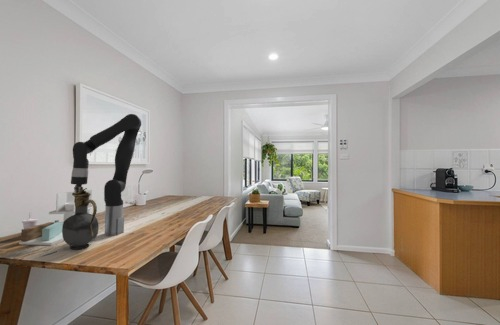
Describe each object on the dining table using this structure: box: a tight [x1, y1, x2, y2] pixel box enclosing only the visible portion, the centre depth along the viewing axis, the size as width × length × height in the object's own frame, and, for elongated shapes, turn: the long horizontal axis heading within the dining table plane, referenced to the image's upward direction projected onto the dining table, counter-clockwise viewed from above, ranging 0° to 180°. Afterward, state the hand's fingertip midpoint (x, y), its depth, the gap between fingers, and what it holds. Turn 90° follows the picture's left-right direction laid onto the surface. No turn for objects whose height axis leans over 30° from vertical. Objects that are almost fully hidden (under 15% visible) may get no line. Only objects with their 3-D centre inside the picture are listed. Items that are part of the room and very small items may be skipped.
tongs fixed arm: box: [20, 221, 55, 242], centre depth 118 cm, size 15×3×6 cm, turn 179°
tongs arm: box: [42, 219, 63, 241], centre depth 120 cm, size 17×4×7 cm, turn 21°
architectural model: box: [48, 189, 93, 223], centre depth 146 cm, size 28×21×23 cm
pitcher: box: [62, 187, 99, 251], centre depth 107 cm, size 11×19×30 cm, turn 67°
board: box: [19, 232, 65, 246], centre depth 120 cm, size 17×20×1 cm
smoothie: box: [21, 211, 39, 229], centre depth 122 cm, size 6×6×14 cm
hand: (77, 203), depth 123 cm, fingers open, 8 cm apart
